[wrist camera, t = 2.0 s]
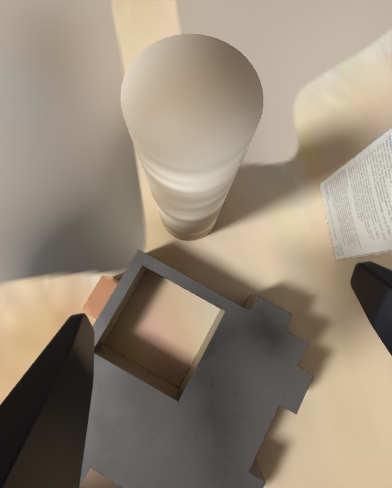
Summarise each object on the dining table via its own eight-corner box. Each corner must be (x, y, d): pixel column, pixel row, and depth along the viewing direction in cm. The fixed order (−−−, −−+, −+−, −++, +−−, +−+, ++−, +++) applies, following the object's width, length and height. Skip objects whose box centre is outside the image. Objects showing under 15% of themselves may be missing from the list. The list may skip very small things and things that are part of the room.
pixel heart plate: (315, 330, 22) (331, 336, 19) (219, 537, 19) (223, 574, 17) (138, 232, 22) (132, 225, 20) (25, 421, 20) (2, 440, 17)
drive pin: (226, 203, 23) (287, 73, 9) (199, 250, 22) (221, 189, 8) (178, 177, 23) (165, 11, 9) (150, 223, 22) (92, 120, 9)
